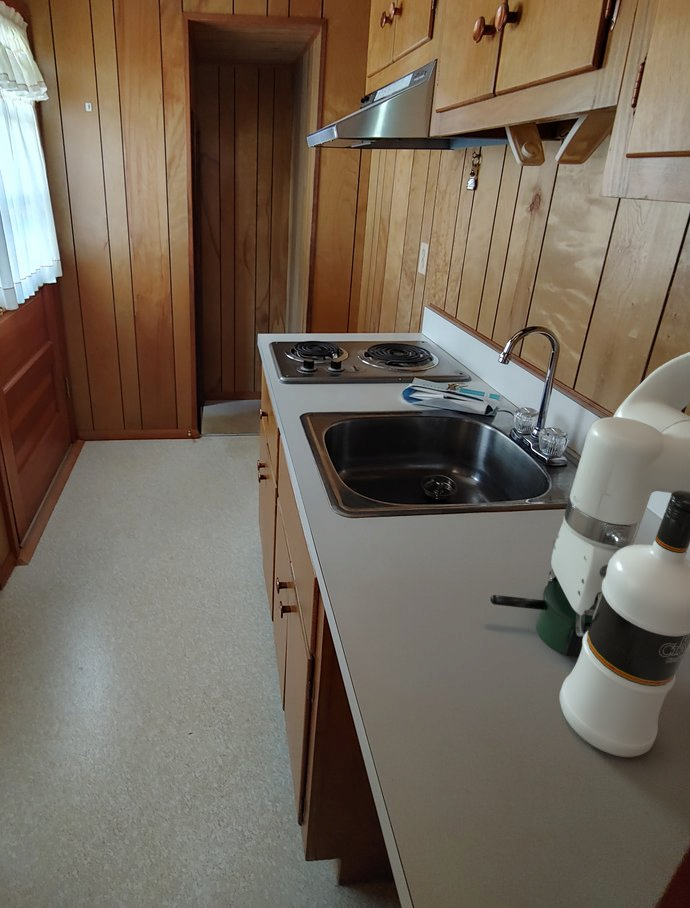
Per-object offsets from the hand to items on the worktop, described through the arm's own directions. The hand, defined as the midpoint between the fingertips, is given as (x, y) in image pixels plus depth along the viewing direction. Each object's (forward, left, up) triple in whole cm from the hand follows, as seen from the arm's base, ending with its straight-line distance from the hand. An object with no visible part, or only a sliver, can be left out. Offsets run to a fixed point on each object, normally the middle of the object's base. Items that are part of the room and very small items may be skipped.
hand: (566, 628), depth 72 cm
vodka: (0, +12, -1) cm, 12 cm away
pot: (+3, 0, -1) cm, 4 cm away
